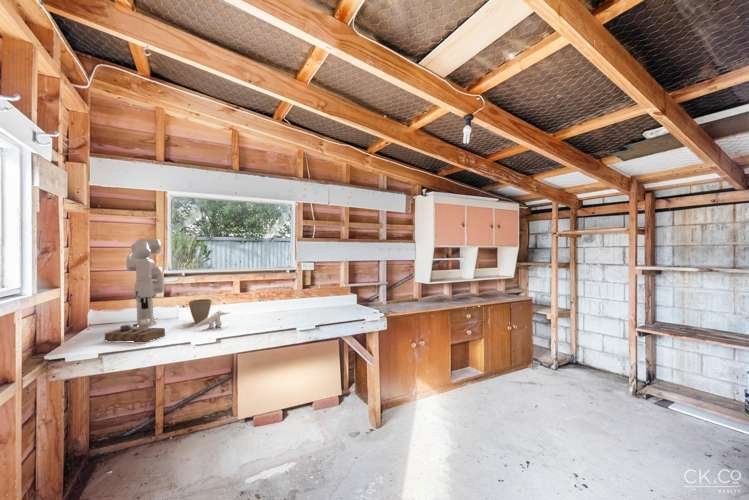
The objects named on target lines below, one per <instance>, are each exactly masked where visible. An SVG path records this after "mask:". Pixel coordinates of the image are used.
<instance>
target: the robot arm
mask: <svg viewBox="0 0 749 500" xmlns="http://www.w3.org/2000/svg"><path fill="white" fill-rule="evenodd" d="M130 249H131V252H130V253H129V254H128V255H127V257H126V265H125V266H126V269H127V270H128V271H131V272H135V276H136V278H135V279H136V282H135V283H134V287H133V298H134V299H135V300H136V301H135V302H136V320H137V321H136V324H138V327H141V328H143V326H141V323H140V320H143V319H150V324H149V325H148V327H150V326H154V325H156V324H157V321H156V320H158V319H159V317H158V316H154V301H153V297H154V295H155V294H157V295H158V294H162V293H164V291H165V281H164V278H165V277H164V276H165V275H164V268H163V267H161V266H159V265H155V260H153V259H152V258H150V257H151V255H158V254H160V253H161V252H162V243H161V240H160V239H159V238H138V239H137V240H136V241H135V242H134V243H132V244H131V245H130Z"/></svg>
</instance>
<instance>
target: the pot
mask: <svg viewBox="0 0 749 500" xmlns="http://www.w3.org/2000/svg"><path fill="white" fill-rule="evenodd" d="M131 327H132V331H138V330H139V328H138V324H137V323H134V324H133V325H132V326H131Z"/></svg>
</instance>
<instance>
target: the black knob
mask: <svg viewBox="0 0 749 500" xmlns="http://www.w3.org/2000/svg"><path fill="white" fill-rule="evenodd" d="M130 327H131V324H124V325H120V329H121V331H122V332H123V331H129V330H130Z"/></svg>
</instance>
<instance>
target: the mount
mask: <svg viewBox="0 0 749 500" xmlns="http://www.w3.org/2000/svg"><path fill="white" fill-rule="evenodd" d="M138 328H139V330H138V331H132V326H130V330H129V331H123V332H122V331H121V328H118V329H116V330H112V331H108V332H105V333H104V341H105V340H107V341H134V342H148V341H150V340H153V339H156V340H158V339H161V338H163V337H165V336H166V328H165V327H148V331H147V332H143V327H138ZM160 337H161V338H160ZM157 338H158V339H157ZM153 341H154V340H153ZM150 342H151V341H150ZM148 343H149V342H148Z"/></svg>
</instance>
